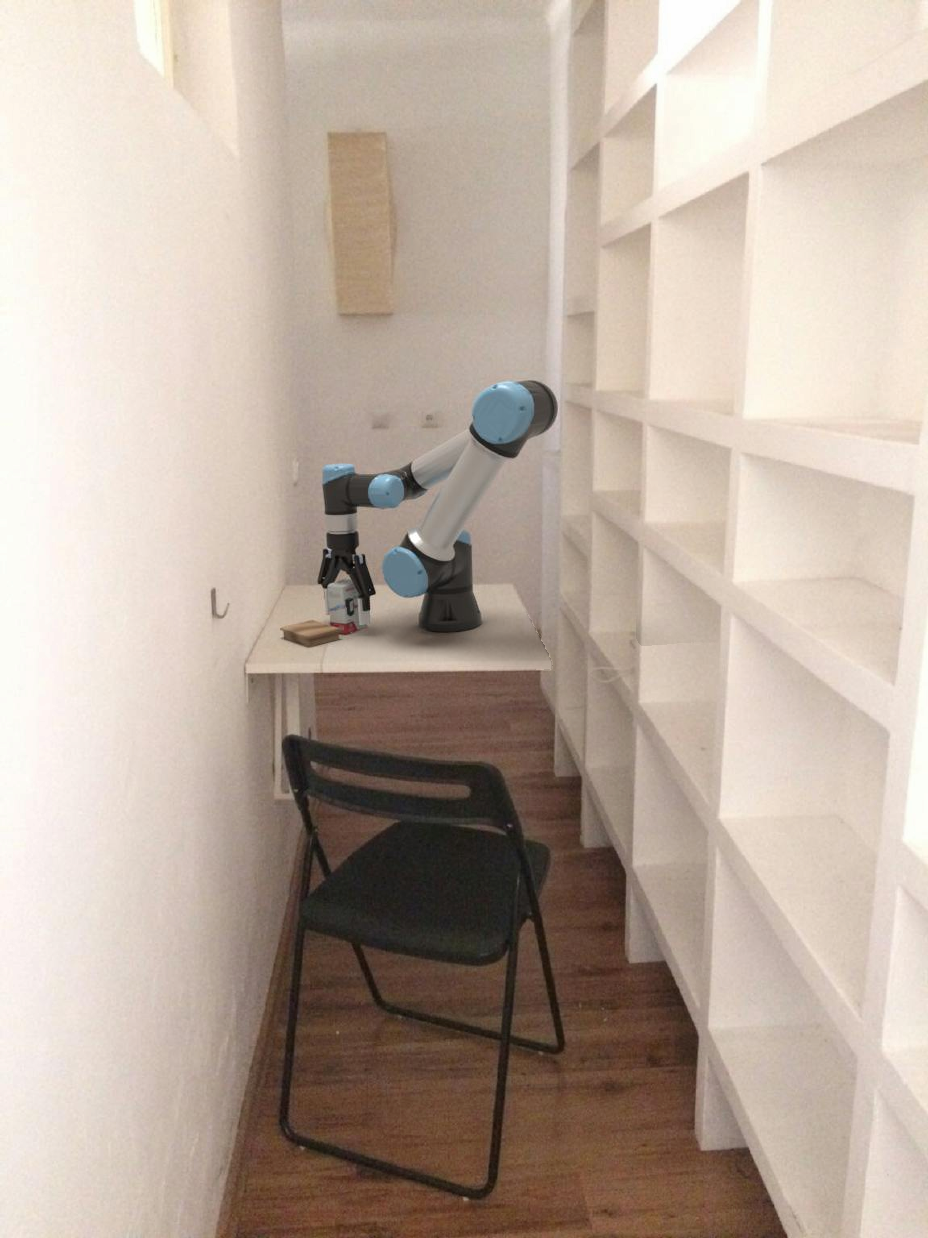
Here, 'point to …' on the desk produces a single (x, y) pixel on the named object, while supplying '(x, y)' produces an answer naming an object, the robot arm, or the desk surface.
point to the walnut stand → (311, 633)
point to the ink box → (344, 606)
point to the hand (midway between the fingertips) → (347, 619)
